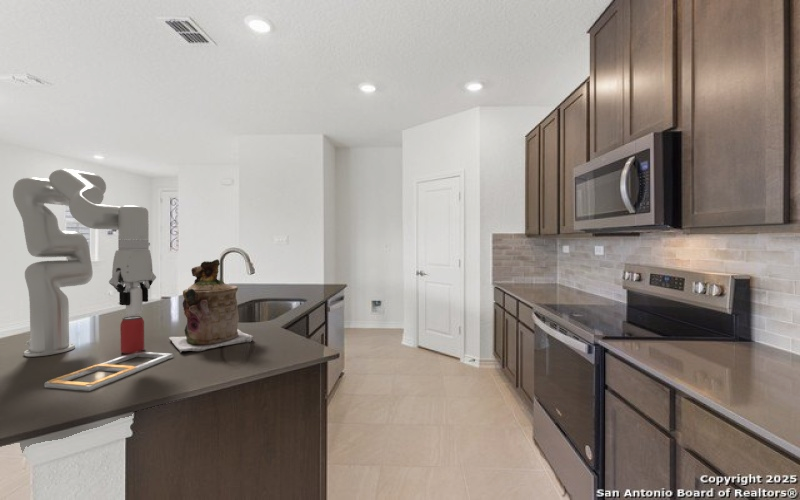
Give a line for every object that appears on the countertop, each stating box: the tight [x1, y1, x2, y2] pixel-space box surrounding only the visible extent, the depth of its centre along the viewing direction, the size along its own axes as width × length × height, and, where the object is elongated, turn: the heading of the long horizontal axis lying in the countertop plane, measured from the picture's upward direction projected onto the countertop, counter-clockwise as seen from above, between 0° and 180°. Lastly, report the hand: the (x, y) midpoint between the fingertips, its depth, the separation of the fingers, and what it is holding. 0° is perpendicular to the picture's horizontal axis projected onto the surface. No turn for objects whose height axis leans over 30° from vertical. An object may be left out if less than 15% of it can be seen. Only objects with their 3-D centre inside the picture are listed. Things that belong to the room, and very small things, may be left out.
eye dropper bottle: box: [125, 282, 143, 316], centre depth 108 cm, size 4×6×12 cm
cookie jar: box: [168, 259, 254, 353], centre depth 133 cm, size 25×25×32 cm
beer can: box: [119, 315, 145, 355], centre depth 121 cm, size 7×7×12 cm
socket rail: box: [44, 351, 174, 392], centre depth 103 cm, size 14×26×1 cm, turn 171°
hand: (134, 302), depth 108 cm, fingers closed on eye dropper bottle, 5 cm apart
